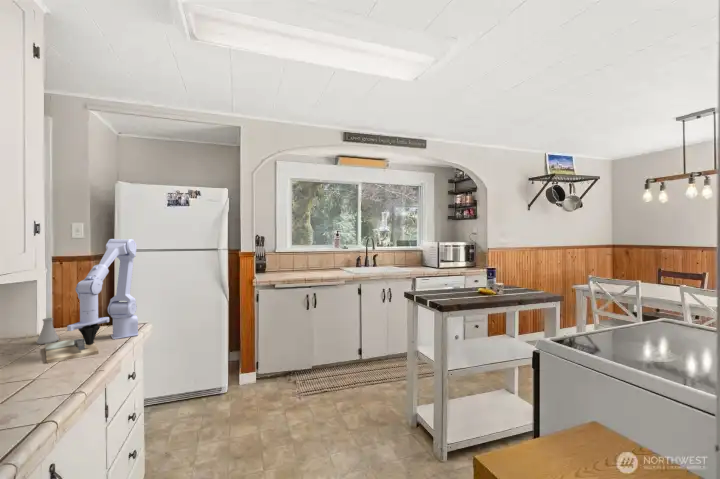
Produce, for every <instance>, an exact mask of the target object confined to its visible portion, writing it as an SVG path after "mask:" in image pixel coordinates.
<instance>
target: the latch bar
mask: <svg viewBox="0 0 720 479" xmlns="http://www.w3.org/2000/svg"><path fill="white" fill-rule="evenodd" d="M75 339H76V340H74V339H73V340H74V345H77V347H78V350H82V349H85V345H84V339H80V338H75Z"/></svg>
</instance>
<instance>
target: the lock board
mask: <svg viewBox="0 0 720 479" xmlns="http://www.w3.org/2000/svg"><path fill="white" fill-rule="evenodd" d="M76 339H77V338H74V339H69V340H63V341H56V342H52V343H47V344H44V347H45V357H46V358H45V360H46V364H50V363H56V362H61V361H67V360H72V359H78V358H83V357H89V356H93V355H99V349H98V347H97V345H96V342H95V341H94V342H93V344H91V345H86V343H85V340H84V345H85V349H82V350H78V347H77V345H74V340H76ZM79 339H84V337H83V336H82V337H81V338H79Z"/></svg>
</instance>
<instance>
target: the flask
mask: <svg viewBox="0 0 720 479" xmlns="http://www.w3.org/2000/svg"><path fill="white" fill-rule="evenodd" d="M53 320H54V318H53V317H48V318H47V317H46V318H42V321H43V322H42V323H43V325H42V327H41V331H40V334H39V335H38V337H37V339H36V341H35V343H36V344H38V345H42V344H44V345H45V344H48V343H55V342H59V340H60V337H59V335H58V334H57V332H56V330H55V328H54V325H53Z"/></svg>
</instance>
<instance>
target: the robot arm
mask: <svg viewBox="0 0 720 479" xmlns="http://www.w3.org/2000/svg"><path fill="white" fill-rule="evenodd" d="M137 247H138V246H137V243H136V241H135V239H133V238H129V239H128V238H126V239H125V238H123V239H122V238H110V239H108V241H107V242H106V244H105V251H104V252H105V253H104V254H103V256H102V258H101V260H100V261H99V263H98V264H95V265H93V266H92V268H91V269H90V270H89V272H88V273H87V275H86V277H85V278H84V279H82V280H80V281H79V282H78V283H77V284H76V287H75V293H76V294H77V298H78V300H79V321H78V322H75V323H72V324H68V325H67V327H66V330H67V331H68V332H72V331H75V330H78V331H79V332H80V334H81V335H82V338H83V337H84V340H85V343H86V345H91V344H93V342H94V343H95V337H96V335H97V333H98V331H99V330H100V329H101V324H104V323H109V322H110V318H112V333H111V334H110V336H111V338H112V340H117V339H118V340H119V339H123V338H124V339H125V338H129V337H136V336H139V320H138V314H135V313H136V312H137V303H136V302H137V299H136V298H135V297H134V296H133V295H131V289H132V281H133V280H132V279H133V271H134V270H133V269H134V263H135V262H134V261H135V258H136V256H137ZM116 258H117V259H118V260H119V267H118V274H117V275H118V277H117V284H116V285H117V287H116V294H115V295H114V296H113V297H112V298H110V299H109V303H108V306H107V313H108V315H109V316H110V317H109V316H105V317H104V316H103V317H99V294H100V293H101V292H102V289H103V285H104V280H105V279H106V277H107V275H108V274H109V272H110V270H109V267H110V266H111V264H112V263H113V262H114V261H115V259H116Z"/></svg>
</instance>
